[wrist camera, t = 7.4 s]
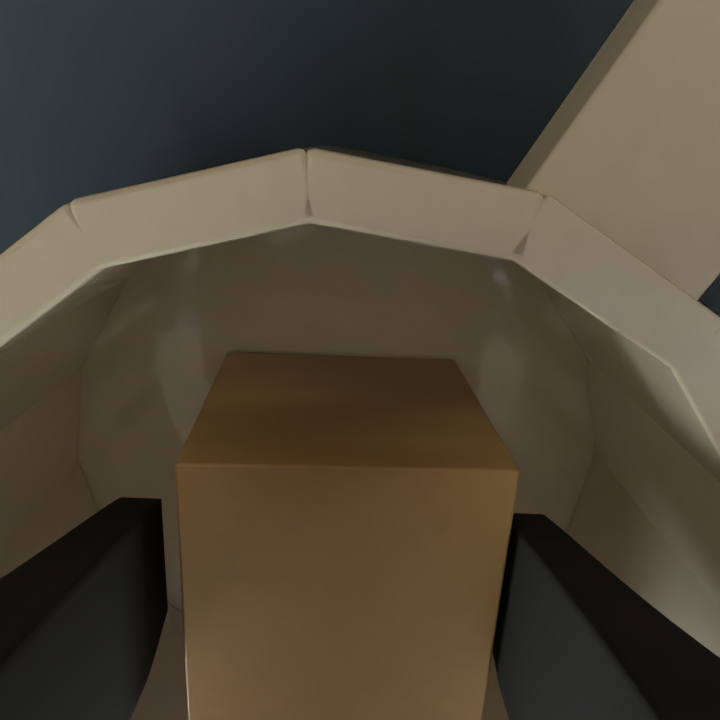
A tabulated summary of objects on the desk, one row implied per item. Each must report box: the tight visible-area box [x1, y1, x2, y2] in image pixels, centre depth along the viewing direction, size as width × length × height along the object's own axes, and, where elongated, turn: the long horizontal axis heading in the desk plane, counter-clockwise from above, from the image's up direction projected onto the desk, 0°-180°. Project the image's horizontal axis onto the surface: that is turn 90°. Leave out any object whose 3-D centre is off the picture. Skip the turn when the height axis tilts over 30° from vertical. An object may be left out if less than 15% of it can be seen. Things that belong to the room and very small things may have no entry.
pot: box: [0, 0, 720, 720], centre depth 11 cm, size 12×17×6 cm
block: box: [175, 352, 520, 720], centre depth 11 cm, size 4×4×4 cm
